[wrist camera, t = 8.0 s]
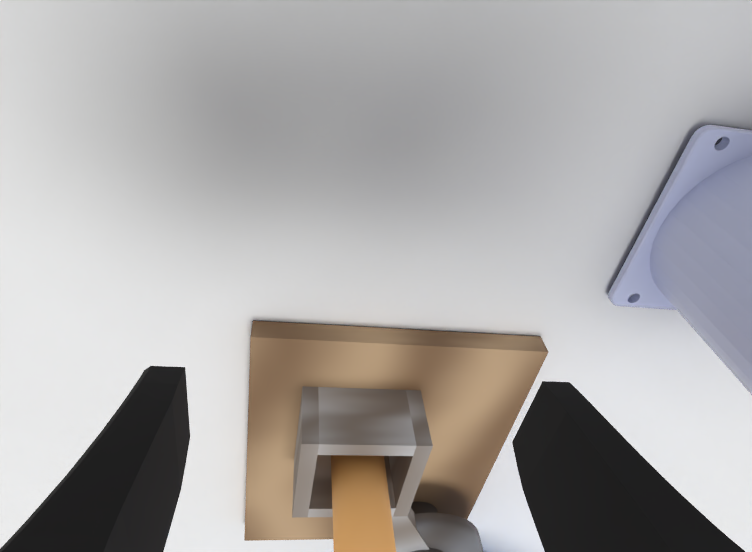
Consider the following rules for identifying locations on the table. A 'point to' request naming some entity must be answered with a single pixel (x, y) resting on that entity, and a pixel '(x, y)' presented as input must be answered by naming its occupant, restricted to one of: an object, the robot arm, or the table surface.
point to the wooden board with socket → (380, 424)
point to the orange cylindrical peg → (361, 504)
